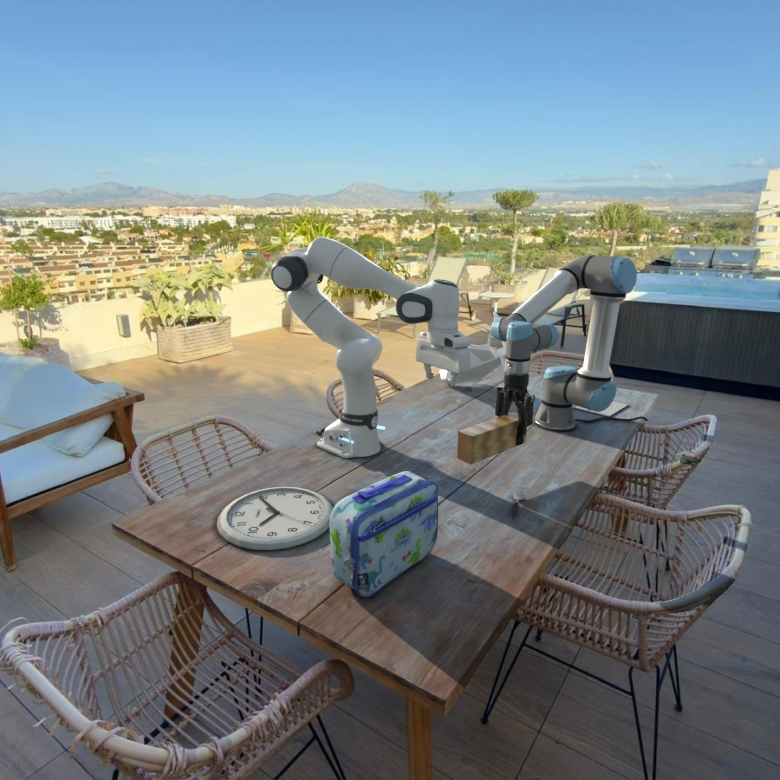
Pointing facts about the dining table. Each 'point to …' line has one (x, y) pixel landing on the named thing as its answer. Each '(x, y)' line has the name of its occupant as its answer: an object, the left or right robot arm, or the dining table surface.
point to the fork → (517, 498)
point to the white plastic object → (479, 363)
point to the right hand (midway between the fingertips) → (511, 440)
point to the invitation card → (609, 411)
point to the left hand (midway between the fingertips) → (440, 381)
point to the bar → (488, 438)
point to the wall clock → (275, 518)
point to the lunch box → (383, 531)
